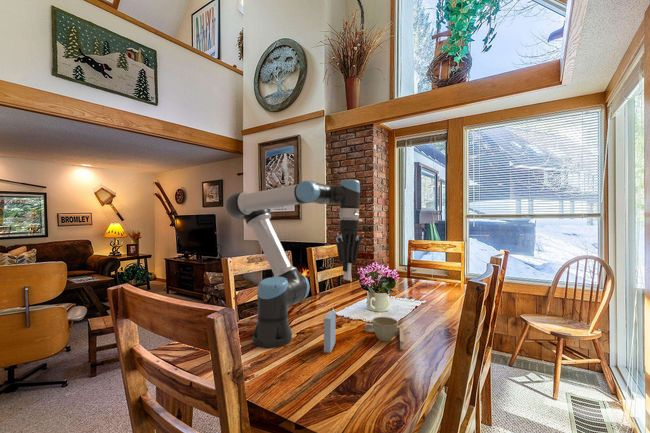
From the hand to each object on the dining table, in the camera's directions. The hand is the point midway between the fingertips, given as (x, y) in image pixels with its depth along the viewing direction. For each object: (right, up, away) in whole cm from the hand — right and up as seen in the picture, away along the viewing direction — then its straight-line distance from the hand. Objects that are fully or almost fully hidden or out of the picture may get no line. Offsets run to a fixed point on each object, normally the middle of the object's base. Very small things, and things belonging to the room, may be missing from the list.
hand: (347, 279), depth 116 cm
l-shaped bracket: (+14, -24, +1) cm, 28 cm away
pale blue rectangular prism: (-7, -24, -7) cm, 25 cm away
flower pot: (+15, -24, +1) cm, 28 cm away
